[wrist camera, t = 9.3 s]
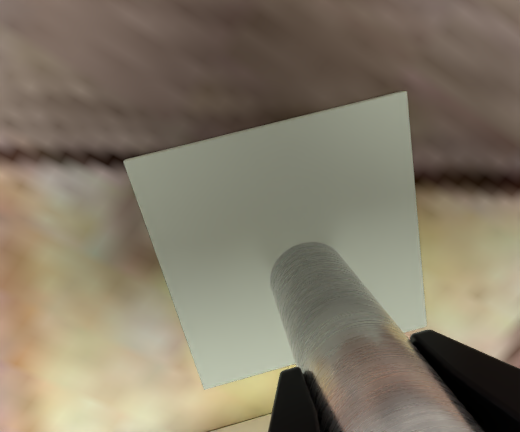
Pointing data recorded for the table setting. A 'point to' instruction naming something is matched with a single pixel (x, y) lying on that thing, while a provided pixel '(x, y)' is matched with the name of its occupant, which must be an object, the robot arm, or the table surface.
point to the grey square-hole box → (249, 425)
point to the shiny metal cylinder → (357, 351)
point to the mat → (281, 224)
